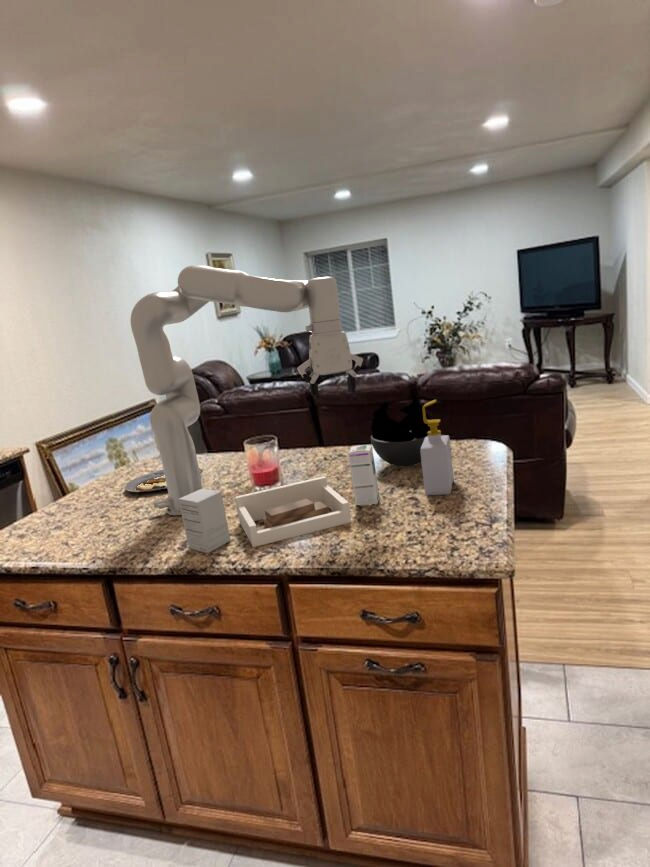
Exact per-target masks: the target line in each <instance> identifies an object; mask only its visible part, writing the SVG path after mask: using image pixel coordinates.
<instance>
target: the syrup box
mask: <svg viewBox="0 0 650 867" xmlns="http://www.w3.org/2000/svg"><path fill="white" fill-rule="evenodd" d="M347 456H348V463H349V470H350V475H351V477H350V478H351V482H352V488H353V489H352V490H353V495H354V502H355V506H356V505H363V506H369V505H368V504H375V505H378V502H379V499H380V492H379V484H378V478H377V471H376V463H375V456H374V448H373V446H372V444H361V445H354V446H350V449H349V450H348V452H347Z"/></svg>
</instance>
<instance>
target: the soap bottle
mask: <svg viewBox="0 0 650 867" xmlns="http://www.w3.org/2000/svg"><path fill="white" fill-rule="evenodd" d="M435 403H437V399H433V400H430V401H428V402H426V403H425V404H424V405H423V406H422V407H423V409H422V411H423V420H424V423H425V424H428V426H429V427H430V429H431V431H428V432H427V433H428V437H425V439H424V441H423V444H422V446H421V450H420V452H421V461H422V462H421V469H422V470H421V471H422V479H423V488H424V493H425V496H436V495H437V496H440V495H441V496H442V495H451V494H452V493H451V492H452V488H453V482H454V470H453V459H452V450H451V448H452V447H451V440H450V435H448V434H447V435H445V434H442V431H441V430H440V429H438V427H439V426H440V424H439V423H441V419H439V418H438V419H437V418H436V419H431V420H427V419H426V414H425V413H426V408H427V407H429V406H431V405H433V404H435Z"/></svg>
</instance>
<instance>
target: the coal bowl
mask: <svg viewBox="0 0 650 867" xmlns="http://www.w3.org/2000/svg"><path fill="white" fill-rule="evenodd" d="M388 407H389V404H388V403H383V404H381V405H380V407H379V408H378V409H376V410H374V412H373V414H372V416H373V417H374V418H373V419H372V422H371V427H370V429H371V435H370V443H371V445H372V449H373V451H374V452H375V453H376V454H377V455H378V457H380V458H381V459H382V460H383V461H384V462H386V463H388V464H390V465H391V466H395V467H401V468H409V467H413V466H416V465H419V464H422V461H421V452H420V450H421V446H422V444H423V441H424V439H425V437H428V433H427V432H428V431H431V429H430V427H429V426H428V424H425V423H424V420H423V411H422V409H423V406H422V404H421V403H419V402H413V403H410V404H408V405H405V406H404V407H403V408H401V409H399V412H402V413H404V414H406V416H405V417H403V418H402V419H401V420H400V421H396V420H394V419H393V418H390V416H389V414H388V413H387V410H388ZM425 414H426V419H427V420H432V418H431V417H430V416H429V415H428V413H427V412H425Z"/></svg>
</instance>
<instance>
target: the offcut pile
mask: <svg viewBox="0 0 650 867" xmlns="http://www.w3.org/2000/svg"><path fill="white" fill-rule="evenodd" d="M328 513H331V512H330V509H329V508H328V506H327V505H325V504H323V503H321V502H320V501H319V502H315V503H313V502H312V501H310V500H308V499H307V498H306V499H303V500H299V501H296V502H293V503H289V504H286V505H283V506H279V507H276V508H272V509H269V510H266V511H265V514H266V518H264V519H263V523H264V525H262V526H259V527H256V528H257V531H259V530H263V529H267V528H271V527H275V526H279V525H283V524H287V523H291V522H295V521H299V520H303V519H308V518H312V517H316V516H320V515H324V514H328Z"/></svg>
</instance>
